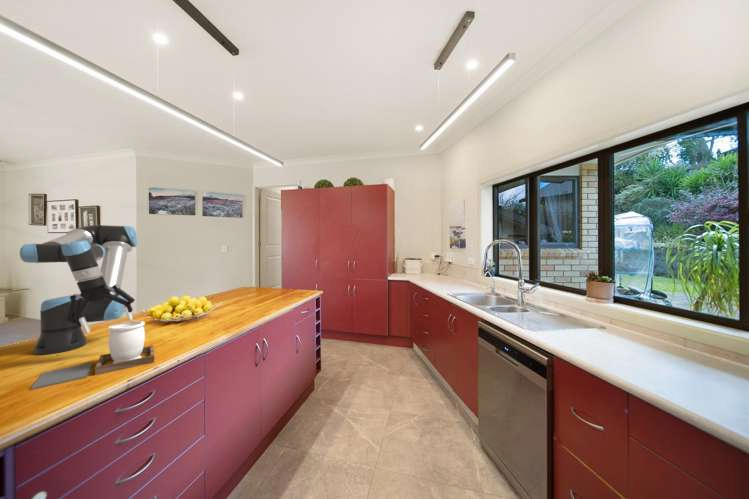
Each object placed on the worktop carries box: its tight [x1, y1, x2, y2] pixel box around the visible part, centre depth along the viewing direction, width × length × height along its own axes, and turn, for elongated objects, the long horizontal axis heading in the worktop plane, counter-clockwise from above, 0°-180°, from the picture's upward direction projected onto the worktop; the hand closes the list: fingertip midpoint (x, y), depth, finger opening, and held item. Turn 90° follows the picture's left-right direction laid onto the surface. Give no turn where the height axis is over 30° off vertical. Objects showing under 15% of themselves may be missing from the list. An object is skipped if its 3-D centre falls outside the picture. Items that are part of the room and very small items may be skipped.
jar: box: [107, 320, 146, 364], centre depth 103 cm, size 11×10×15 cm
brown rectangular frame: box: [94, 345, 155, 376], centre depth 103 cm, size 15×16×2 cm
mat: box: [30, 362, 93, 391], centre depth 92 cm, size 14×12×1 cm
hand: (110, 325), depth 109 cm, fingers open, 13 cm apart
